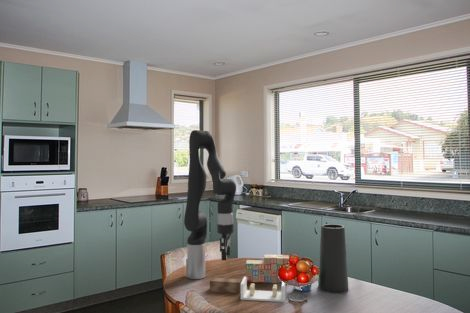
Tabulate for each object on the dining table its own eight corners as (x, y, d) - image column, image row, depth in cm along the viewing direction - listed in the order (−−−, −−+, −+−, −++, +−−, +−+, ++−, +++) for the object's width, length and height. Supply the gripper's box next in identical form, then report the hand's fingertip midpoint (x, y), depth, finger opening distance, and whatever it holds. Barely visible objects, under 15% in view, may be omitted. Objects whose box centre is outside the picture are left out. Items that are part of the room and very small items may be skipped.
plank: (209, 291, 174) (209, 280, 174) (212, 288, 178) (212, 277, 178) (239, 293, 171) (239, 282, 171) (241, 290, 175) (241, 279, 175)
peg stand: (240, 299, 163) (240, 283, 163) (244, 291, 173) (243, 276, 173) (284, 302, 160) (284, 286, 160) (285, 293, 170) (285, 278, 170)
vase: (353, 287, 177) (353, 225, 177) (339, 295, 167) (339, 230, 167) (327, 281, 186) (326, 222, 186) (312, 288, 176) (312, 226, 176)
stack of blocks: (245, 282, 186) (245, 257, 186) (246, 278, 192) (246, 253, 192) (289, 283, 184) (289, 258, 184) (289, 279, 190) (288, 254, 190)
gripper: (220, 219, 182) (221, 253, 182) (213, 225, 168) (214, 261, 168) (236, 220, 181) (236, 254, 181) (230, 225, 167) (231, 262, 167)
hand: (225, 257), depth 175 cm, fingers open, 8 cm apart
